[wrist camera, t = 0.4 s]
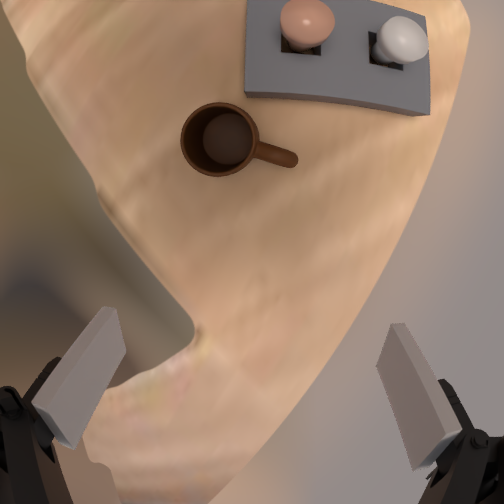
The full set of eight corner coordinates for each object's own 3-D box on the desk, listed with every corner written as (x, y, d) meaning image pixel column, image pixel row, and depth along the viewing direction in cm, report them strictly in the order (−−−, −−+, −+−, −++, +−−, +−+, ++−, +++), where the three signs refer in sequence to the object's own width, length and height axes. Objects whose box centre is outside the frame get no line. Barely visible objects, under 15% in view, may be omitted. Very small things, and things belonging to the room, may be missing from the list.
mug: (301, 129, 35) (312, 127, 26) (282, 185, 37) (288, 201, 29) (208, 103, 34) (190, 93, 25) (192, 159, 37) (170, 167, 28)
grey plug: (361, 32, 26) (383, 10, 19) (399, 40, 26) (426, 24, 19) (362, 67, 28) (386, 52, 21) (400, 75, 28) (430, 65, 21)
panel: (250, 3, 28) (247, -14, 24) (409, 26, 27) (425, 16, 23) (247, 97, 33) (244, 91, 29) (412, 116, 33) (430, 115, 28)
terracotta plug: (278, 21, 26) (280, -5, 19) (321, 25, 26) (333, 0, 19) (277, 58, 28) (280, 37, 21) (321, 61, 28) (335, 43, 21)
